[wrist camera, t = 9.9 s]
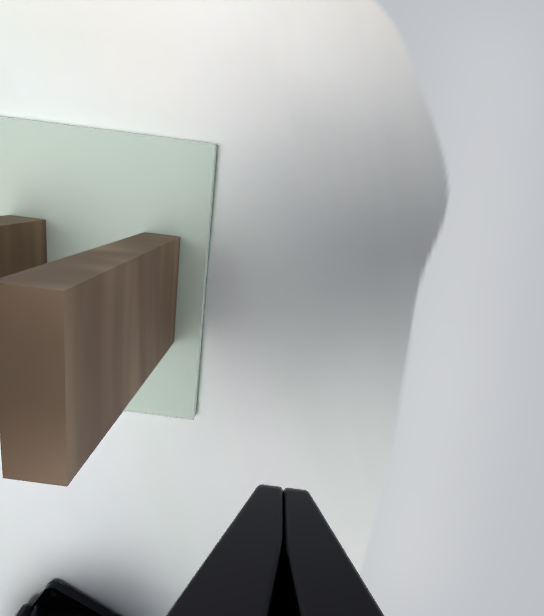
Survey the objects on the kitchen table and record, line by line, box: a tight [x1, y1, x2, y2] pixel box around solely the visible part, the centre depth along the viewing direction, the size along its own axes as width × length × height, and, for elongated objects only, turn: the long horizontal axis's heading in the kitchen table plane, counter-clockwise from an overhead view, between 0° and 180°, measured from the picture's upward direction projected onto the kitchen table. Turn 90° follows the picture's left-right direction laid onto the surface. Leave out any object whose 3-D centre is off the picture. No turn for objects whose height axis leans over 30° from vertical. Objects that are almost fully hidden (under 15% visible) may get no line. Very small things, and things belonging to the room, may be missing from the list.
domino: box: [0, 232, 180, 486], centre depth 15 cm, size 2×5×10 cm, turn 173°
